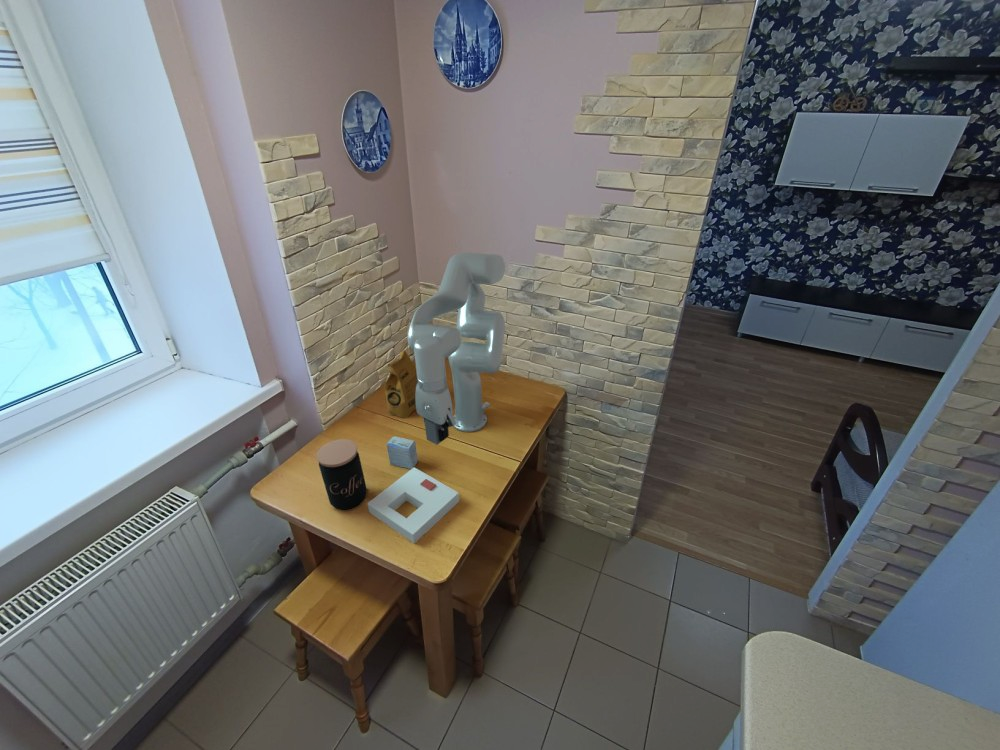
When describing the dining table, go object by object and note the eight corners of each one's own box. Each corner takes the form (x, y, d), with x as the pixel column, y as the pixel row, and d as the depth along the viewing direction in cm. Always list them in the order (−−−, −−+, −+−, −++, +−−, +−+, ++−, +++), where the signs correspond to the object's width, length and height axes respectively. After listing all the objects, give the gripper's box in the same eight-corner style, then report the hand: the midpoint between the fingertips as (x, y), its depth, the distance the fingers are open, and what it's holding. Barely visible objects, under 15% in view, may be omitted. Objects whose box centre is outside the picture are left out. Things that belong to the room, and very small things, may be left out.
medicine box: (418, 461, 147) (415, 440, 143) (411, 470, 143) (408, 449, 139) (397, 456, 149) (393, 435, 145) (389, 465, 146) (386, 444, 141)
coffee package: (384, 414, 169) (374, 363, 157) (402, 397, 178) (394, 347, 167) (407, 420, 165) (399, 368, 154) (424, 402, 175) (418, 352, 164)
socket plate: (415, 475, 141) (413, 465, 139) (459, 501, 132) (458, 491, 130) (369, 512, 129) (366, 502, 127) (414, 543, 120) (412, 533, 118)
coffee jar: (332, 517, 128) (318, 469, 118) (328, 491, 136) (314, 444, 127) (370, 505, 131) (360, 457, 122) (364, 480, 140) (354, 434, 130)
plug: (438, 430, 134) (436, 409, 130) (448, 435, 132) (447, 414, 128) (426, 439, 130) (424, 418, 126) (437, 445, 128) (434, 423, 124)
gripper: (399, 378, 123) (407, 432, 132) (446, 398, 114) (451, 454, 124) (419, 366, 128) (425, 419, 137) (465, 385, 120) (468, 439, 129)
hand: (437, 435), depth 131 cm, fingers closed on plug, 4 cm apart
